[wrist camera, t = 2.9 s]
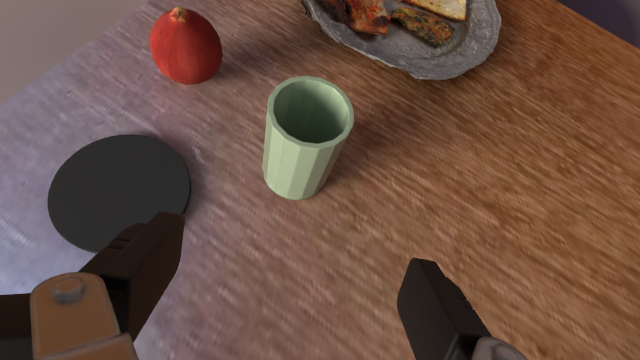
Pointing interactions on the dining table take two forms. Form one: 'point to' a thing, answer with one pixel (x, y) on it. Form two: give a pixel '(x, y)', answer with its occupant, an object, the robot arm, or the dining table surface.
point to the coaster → (116, 189)
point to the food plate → (413, 32)
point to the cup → (304, 135)
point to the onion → (185, 46)
